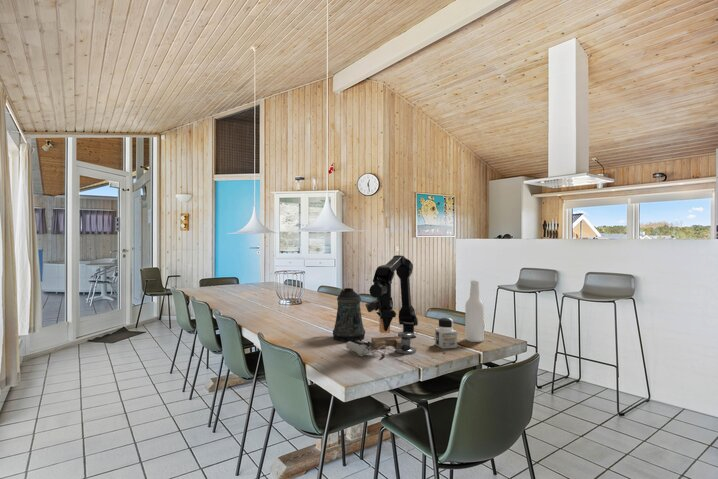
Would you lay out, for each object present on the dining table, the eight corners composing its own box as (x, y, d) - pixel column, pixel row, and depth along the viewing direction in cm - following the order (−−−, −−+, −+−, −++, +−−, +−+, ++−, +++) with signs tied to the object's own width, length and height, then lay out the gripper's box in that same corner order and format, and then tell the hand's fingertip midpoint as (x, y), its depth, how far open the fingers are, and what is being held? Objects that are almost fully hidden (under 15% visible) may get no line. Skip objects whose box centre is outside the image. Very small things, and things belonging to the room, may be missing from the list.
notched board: (371, 342, 193) (371, 337, 193) (403, 341, 195) (403, 336, 195) (374, 348, 182) (374, 343, 182) (409, 347, 184) (409, 342, 184)
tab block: (379, 331, 178) (379, 317, 178) (388, 330, 179) (388, 317, 179) (381, 333, 175) (381, 319, 175) (390, 333, 175) (390, 319, 175)
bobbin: (393, 349, 182) (393, 331, 182) (413, 348, 183) (413, 331, 183) (398, 354, 173) (398, 336, 173) (418, 353, 174) (418, 335, 174)
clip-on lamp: (389, 360, 174) (354, 346, 182) (393, 346, 174) (357, 333, 182) (378, 365, 164) (342, 350, 172) (382, 350, 164) (345, 336, 172)
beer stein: (351, 344, 190) (351, 291, 190) (321, 337, 202) (321, 288, 202) (371, 337, 204) (371, 288, 204) (342, 332, 215) (342, 285, 215)
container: (442, 348, 183) (442, 320, 183) (434, 344, 190) (434, 317, 190) (457, 347, 185) (457, 319, 185) (449, 343, 192) (449, 316, 192)
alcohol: (487, 341, 196) (487, 280, 196) (471, 343, 193) (472, 281, 193) (476, 337, 204) (477, 279, 204) (461, 338, 201) (462, 279, 201)
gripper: (363, 292, 185) (363, 325, 185) (370, 298, 166) (370, 335, 166) (387, 291, 186) (387, 325, 186) (396, 297, 168) (396, 334, 168)
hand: (384, 329), depth 177 cm, fingers closed on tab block, 4 cm apart
